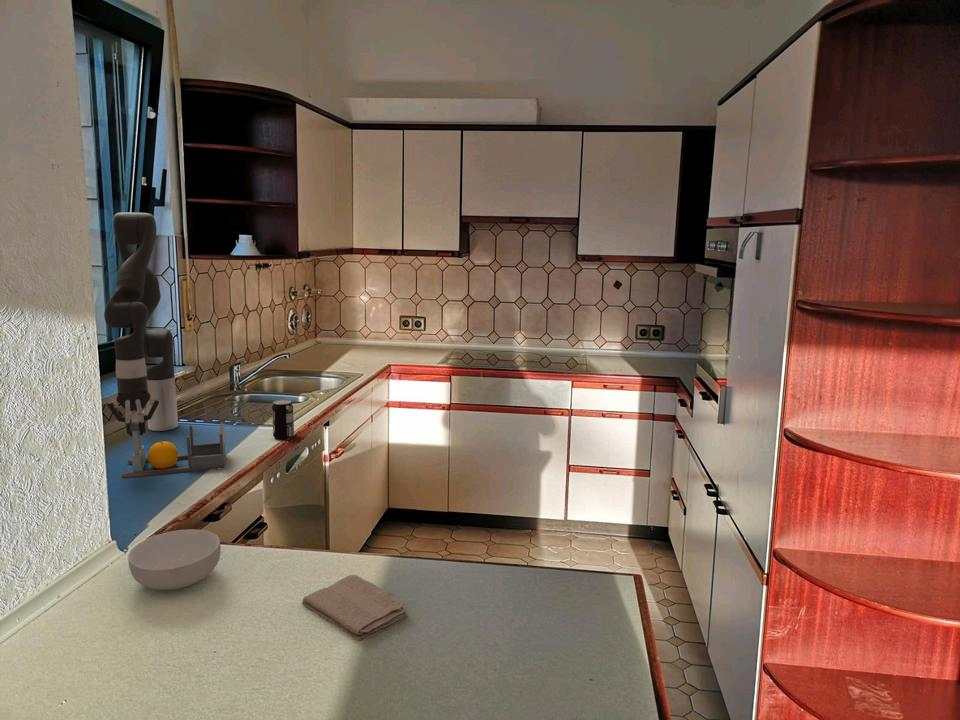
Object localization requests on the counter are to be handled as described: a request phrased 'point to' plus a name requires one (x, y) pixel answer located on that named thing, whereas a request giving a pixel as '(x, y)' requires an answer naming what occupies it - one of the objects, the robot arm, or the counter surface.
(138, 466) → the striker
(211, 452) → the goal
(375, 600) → the washcloth
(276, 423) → the beverage can
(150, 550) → the cereal bowl
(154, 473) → the rails
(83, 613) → the counter surface
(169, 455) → the orange
